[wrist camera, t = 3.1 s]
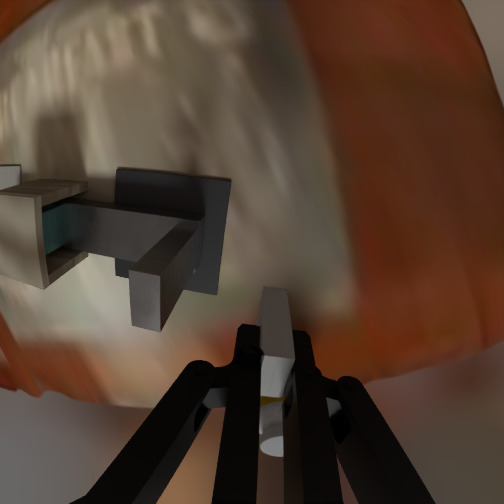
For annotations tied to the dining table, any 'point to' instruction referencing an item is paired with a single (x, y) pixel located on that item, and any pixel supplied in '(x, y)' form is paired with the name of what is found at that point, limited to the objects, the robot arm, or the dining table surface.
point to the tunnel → (33, 232)
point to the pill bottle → (271, 425)
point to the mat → (9, 176)
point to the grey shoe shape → (187, 201)
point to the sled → (132, 248)
